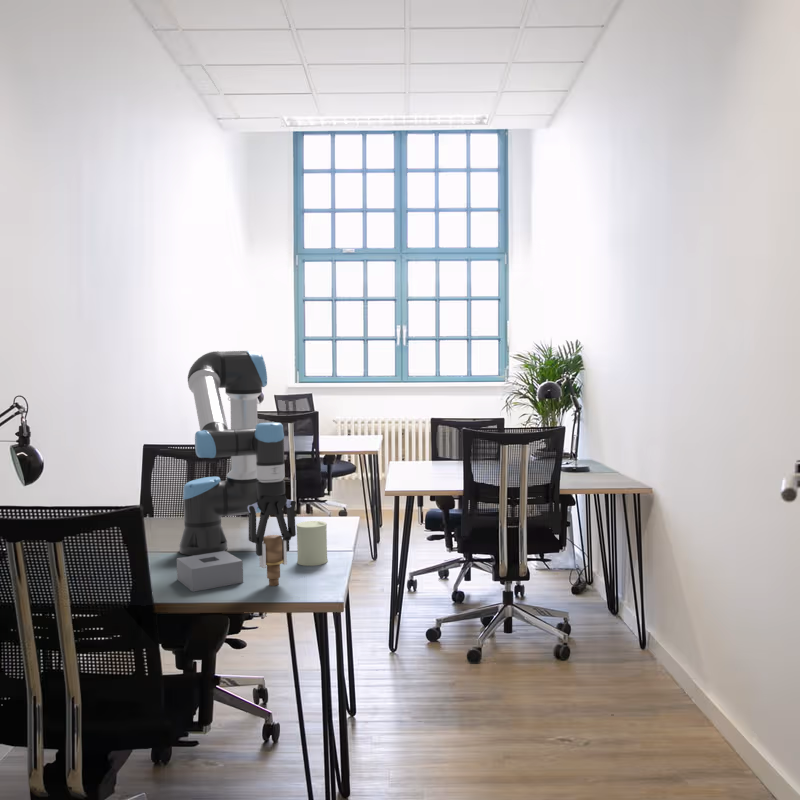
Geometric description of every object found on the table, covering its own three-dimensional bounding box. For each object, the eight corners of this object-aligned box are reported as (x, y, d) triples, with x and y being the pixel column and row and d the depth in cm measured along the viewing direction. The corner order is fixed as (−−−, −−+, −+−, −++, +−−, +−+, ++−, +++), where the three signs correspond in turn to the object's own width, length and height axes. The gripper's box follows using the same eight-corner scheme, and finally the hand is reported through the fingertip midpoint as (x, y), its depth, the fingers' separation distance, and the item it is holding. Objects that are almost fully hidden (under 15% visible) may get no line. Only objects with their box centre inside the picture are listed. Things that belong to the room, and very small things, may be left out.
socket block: (225, 571, 213) (225, 550, 213) (243, 582, 202) (242, 560, 202) (177, 579, 206) (176, 558, 206) (192, 591, 194) (191, 569, 194)
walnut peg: (279, 580, 203) (277, 533, 202) (287, 585, 198) (285, 537, 198) (260, 584, 200) (259, 536, 199) (268, 588, 195) (267, 540, 195)
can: (327, 565, 218) (326, 525, 217) (296, 566, 217) (295, 526, 217) (328, 557, 227) (327, 518, 226) (298, 558, 226) (297, 519, 226)
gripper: (243, 485, 190) (246, 574, 191) (307, 478, 200) (310, 562, 201) (233, 481, 196) (235, 567, 197) (296, 475, 206) (298, 557, 207)
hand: (273, 565), depth 199 cm, fingers closed on walnut peg, 5 cm apart
